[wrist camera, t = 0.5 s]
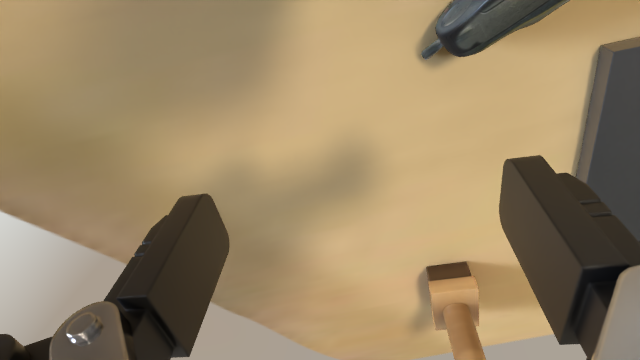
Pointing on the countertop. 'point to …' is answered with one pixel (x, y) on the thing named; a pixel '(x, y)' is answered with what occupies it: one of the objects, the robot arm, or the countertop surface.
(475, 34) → the dark green rounded bar
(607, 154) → the slate board
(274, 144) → the countertop surface
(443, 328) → the brush
